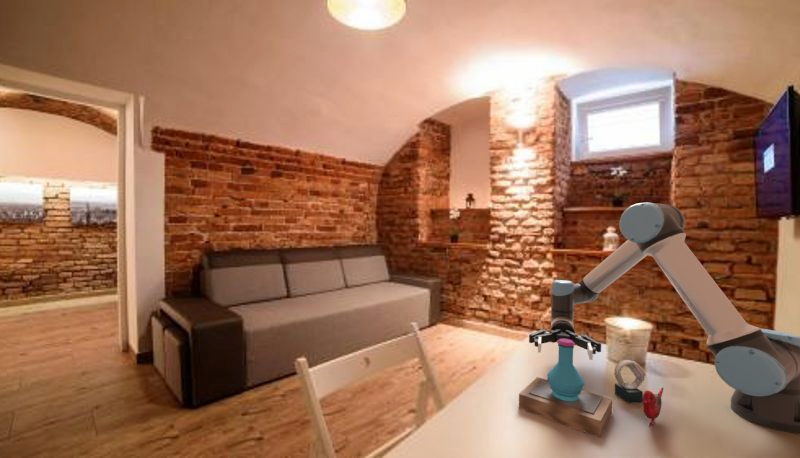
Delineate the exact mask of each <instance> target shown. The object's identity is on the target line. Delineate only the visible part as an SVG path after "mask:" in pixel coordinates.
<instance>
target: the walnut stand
mask: <svg viewBox="0 0 800 458" xmlns="http://www.w3.org/2000/svg"><path fill="white" fill-rule="evenodd" d="M578 397H579V398H578V400H576V401H564V400H561V399H558V398H556V397H554V396H553V395H552V389H551V388H550V385H549V383H548V379H545V378H541V377H538V376H536V378H534V380H532V381H531V382H530V383H529V384H528V385H527V386H526V387H525V388H524V389H523V390H522V391H520V392H519V393H518V409H520V410H523V411H525V412H527V413H531V414H534V415H537V416H540V417H542V418H545V419H548V420H550V421H553V422H556V423H560V424H561V425H564V426H568V427H570V428H573V429H575V430H579V431H582V432H584V433H587V434H590V435H593V436H595V437H598V438H601V437H602V436H603V433H604V431H605V429H606V426H607V425H608V423H609V421H610V418H611V417H612V415H613V398H611V397H606V396H603V395H600V394H597V393H593V392H590V391H586V390H583V389H582V390H581V393H580V394H579V395H578Z"/></svg>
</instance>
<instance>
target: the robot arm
mask: <svg viewBox="0 0 800 458" xmlns="http://www.w3.org/2000/svg"><path fill="white" fill-rule="evenodd" d="M619 219H620V220H619V225H618V226H619V227H618V228H619V230H620V233H621V235H622V236H623V237H624V238H625V239H627V240H626V241H625V242H624V243H622V244H621V245H620V246H618V248H617V249H615V250H613V252H612V253H611V254H610V255H608V256H607V257H606V258H604V260H602V262H600V263H598V265H597V266H595V267H594V268H593V269H592V270H591V271H589V273H587V274H586V275H585V276H584V277H583V278H582V279H580V280H579V281H578V282H577V283H574V282H573V281H571V280H566V279H555V280H553V281H552V282H551V290H550V293H551V295H550V296H551V297H550V298H551V299H550V306H551V307H550V330H549V331H547V330H546V329H545V328H541V329H540V330H537V331H534V332H532V333H530V334H528V343H529V344H533V343H534V347H537V353H542V344H547V343H557V341H558V340H559V339H569V340H572V341H573V342H574V343H575V345H574V346H577V347H580V348H582V349H583V350H587V355H588V359H589V360H592V361H593V355H596V352H597V353H601V352H602V343H600V342H599V341H597V340H595V339H594V338H591V337H590V336H588V334H587V333H582V334H581V335H578V334H577V333H576V330H575V327H574V305H580V304H585V303H590V302H593V301H596V300H597V298H598V297H599V296H600V295H599V294H600V293H601V292H602V291H604V290H605V289H607V288H608V287H609V286H610V285H611V284H613V283H614V282H615V281H616V280H618V279H620V278H621V277H622V276H623V275H624V274H625V273H627V272H628V271H630V270H631V269H632V268H633V267H635V265H637V264H638V263H639V262H640V261H642V260H644V259H645V258H646V257H647V256H649V257H652V258H653V259H654V261H655V263H656V264H657V265H658V267H659V268H660V269H661V270H662V272H663V274H664V275H665V276H666V277H667V280H668V281H669V282H670V284H671V285H672V287H673V288H674V289H675V291H676V292H677V294H678V295H679V296H680V298H681V299H682V301H683V303H685V305H686V306H687V308H688V309H689V310H690V312H691V314H692V316H694V318H695V319H696V320H697V322H698V323H699V324H700V327H702V329H703V331H704V332H705V333H706V335H707V341H706V344H705V345H706V346H707V348H708V349H709V350H710V352H711V353H712V355H713V356H714V367H715V370H716V373H717V375H718V376H719V377H720V379H721V380H722V381H723V382H724V383H726V384H727V385H728V386H729V387H731V388H732V389H733V390H734V392H733V393H732V396H730V397H731V398H730V408H731V410H732V411H733V412H734V413H736V414H737V415H739V416H740V417H742V418H744V419H745V420H748V421H751V422H752V423H755V424H758V425H761V426H764V427H767V428H771V429H774V430H778V431H780V432H781V431H782V432H786V433H793V434H794V433H795V434H800V336H798V335H796V334H792V333H789V332H788V333H787V332H783V331H779V330H778V331H777V330H772V329H767V328H761V327H758V326H754V325H751V324H749V323H748V322H747V321H746V320H745V319H744V318H743V316H742V314H740V312H739V311H738V310H737V308H736V306H734V305H733V303H732V302H731V301H730V299H729V298H728V297H727V296H726V294H725V293H724V291H723V290H722V289H721V288H720V287H719V285H718V284H717V283H716V281H715V280H714V279H713V277H712V276H711V275H710V274H709V272H708V271H707V270H706V268H705V267H704V266H703V265H702V262H701V261H700V260H699V259H698V258H697V257H696V256H695V254H694V253H693V252H692V250H691V249H690V248H689V246H688V245H687V243H686V242H685V240H686V236H687V233H686V232H685V231H684V229H685V225H686V220H685V219H686V218H685V216H684V213H683V212H682V211H681V210H680V209H679V208H678V207H676V206H674V205H671V204H668V203H656V202H655V203H653V202H649V201H647V202H646V201H645V202H639V203H635V204H632V205H630V206H629V207H627V208H626V209H625V210H624V211H623V213H622V214H621V216H620V218H619Z"/></svg>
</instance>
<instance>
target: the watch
mask: <svg viewBox="0 0 800 458" xmlns="http://www.w3.org/2000/svg"><path fill="white" fill-rule="evenodd" d="M625 366H628V368H629V370H630V371H631V373H633V375H634V377H635V379H634V380H633V381H632V383H630V382H624V380H623V376H622V373H621V372H622V370H623V368H624V367H625ZM646 374H647V373H646V371H645V369H643V367H642V366H641V365H640V364H639V363H638V362H636V361H635V360H630V359H621V360H620V361H618V362H617V363H616V364H615V367H614V373H613V375H614V378H615V380H616V382H617V383H614V395H615V396H617V397H619V398H620V399H621V400H623V401H624V402H626V403H628V404H638V403H639V404H640V403H642V404H643V394H644V391H642V390H641V389H639V387H640V386H641V385H642V383H643V382H644V381H645V377H646Z"/></svg>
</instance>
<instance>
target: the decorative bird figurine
mask: <svg viewBox="0 0 800 458" xmlns="http://www.w3.org/2000/svg"><path fill="white" fill-rule="evenodd" d="M664 389H665V388H664V387H661V389H660V390H659V391H658V393H653V392H652V391H650V390H645V391H643V403H642V411H643V413H644V415H645V417H646V418H647V419H649V420H650V422H649V425H648V428H650V427H652V426H653V425H654V424H655V420H656V418H658V417H659V415H660V413H661V409H662V403H663V402H662V396H663V393H664Z"/></svg>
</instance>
